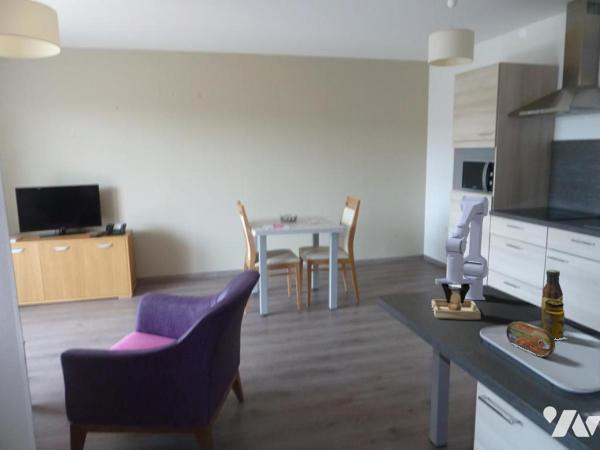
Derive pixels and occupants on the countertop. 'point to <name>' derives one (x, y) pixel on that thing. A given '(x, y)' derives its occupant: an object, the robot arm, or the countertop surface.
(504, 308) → the countertop surface
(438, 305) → the tray
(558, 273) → the sauce bottle
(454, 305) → the can
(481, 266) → the robot arm
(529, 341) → the tin
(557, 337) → the condiment
